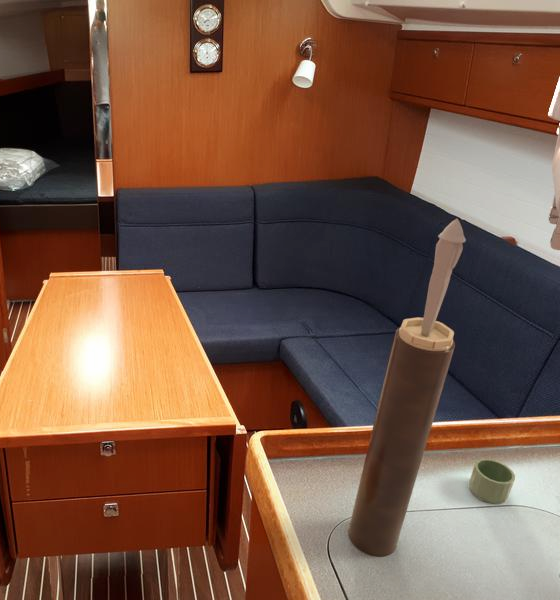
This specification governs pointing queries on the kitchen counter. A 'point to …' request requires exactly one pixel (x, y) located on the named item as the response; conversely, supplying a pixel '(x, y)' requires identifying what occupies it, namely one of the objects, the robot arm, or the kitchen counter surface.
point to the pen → (442, 272)
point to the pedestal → (397, 445)
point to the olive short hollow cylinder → (491, 481)
